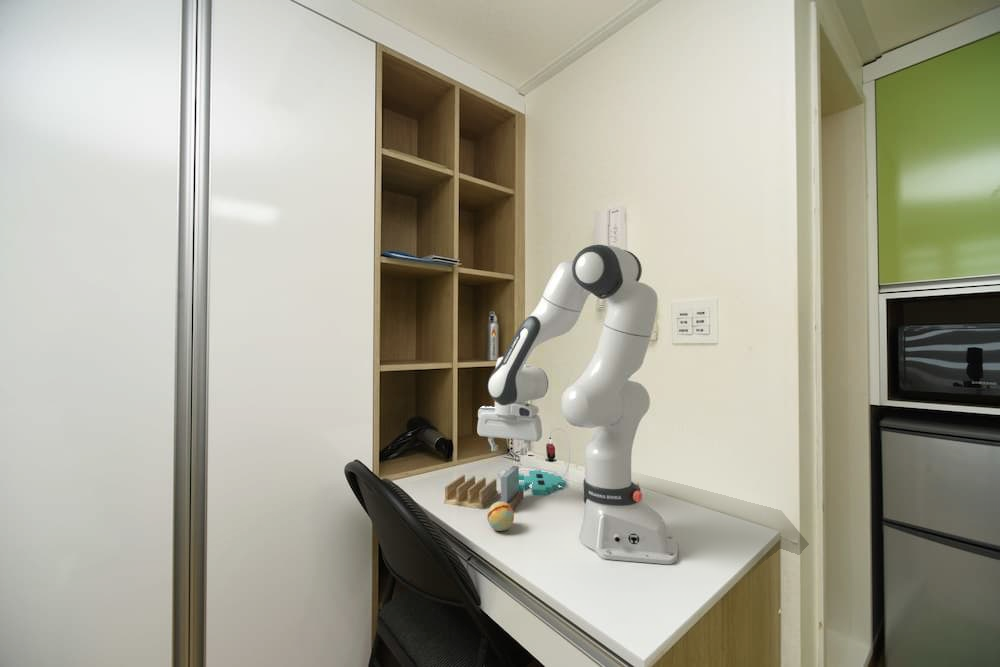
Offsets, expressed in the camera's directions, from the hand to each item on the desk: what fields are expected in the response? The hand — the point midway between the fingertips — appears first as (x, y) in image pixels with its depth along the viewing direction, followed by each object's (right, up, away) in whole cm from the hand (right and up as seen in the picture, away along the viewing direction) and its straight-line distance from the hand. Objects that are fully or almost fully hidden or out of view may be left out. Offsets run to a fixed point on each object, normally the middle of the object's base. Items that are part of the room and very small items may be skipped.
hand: (508, 452), depth 117 cm
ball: (-2, -15, -17) cm, 23 cm away
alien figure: (+9, -17, +16) cm, 25 cm away
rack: (-12, -16, +4) cm, 20 cm away
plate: (0, -15, -1) cm, 15 cm away
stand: (0, -15, -1) cm, 15 cm away
